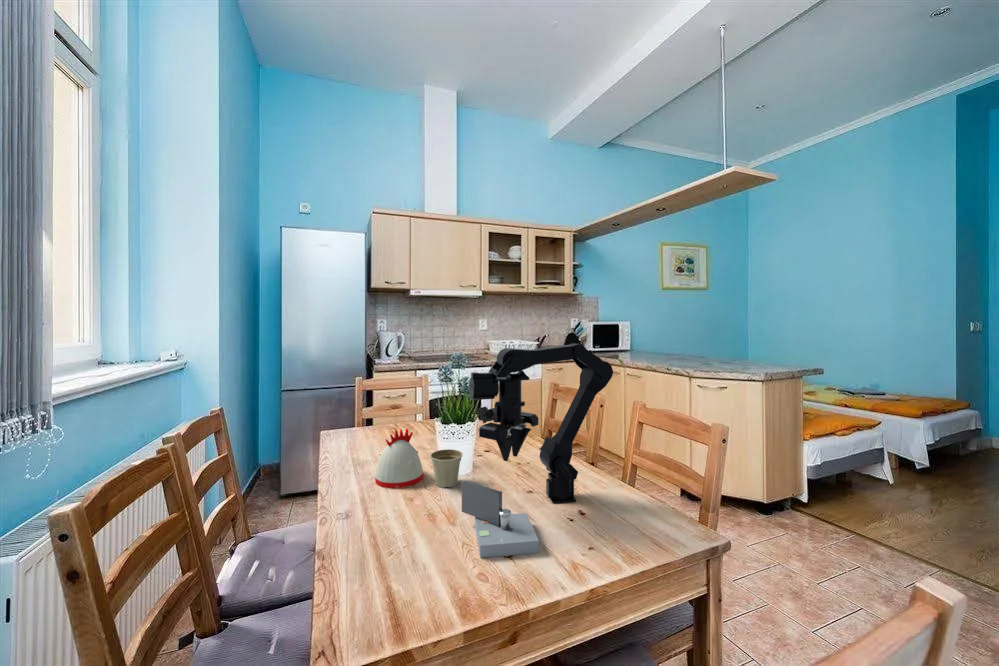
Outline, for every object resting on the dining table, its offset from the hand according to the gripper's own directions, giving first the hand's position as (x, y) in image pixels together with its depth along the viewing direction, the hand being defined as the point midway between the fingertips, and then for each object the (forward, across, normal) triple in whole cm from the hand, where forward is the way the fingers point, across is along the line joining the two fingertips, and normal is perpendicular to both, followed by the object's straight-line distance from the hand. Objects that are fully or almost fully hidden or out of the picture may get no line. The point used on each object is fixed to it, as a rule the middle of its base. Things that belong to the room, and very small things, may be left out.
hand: (510, 458), depth 104 cm
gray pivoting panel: (+9, +14, +3) cm, 17 cm away
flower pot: (+12, 0, -23) cm, 26 cm away
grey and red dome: (+12, +6, -37) cm, 39 cm away
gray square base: (+12, +14, +8) cm, 20 cm away
